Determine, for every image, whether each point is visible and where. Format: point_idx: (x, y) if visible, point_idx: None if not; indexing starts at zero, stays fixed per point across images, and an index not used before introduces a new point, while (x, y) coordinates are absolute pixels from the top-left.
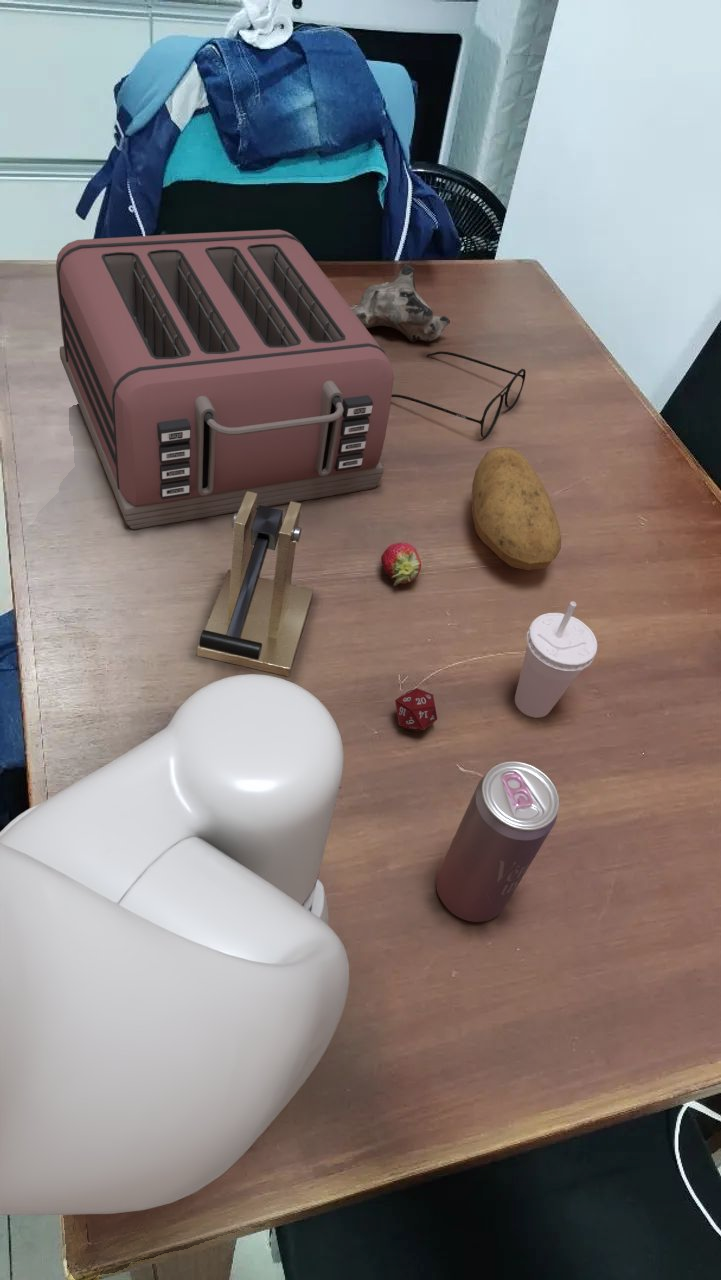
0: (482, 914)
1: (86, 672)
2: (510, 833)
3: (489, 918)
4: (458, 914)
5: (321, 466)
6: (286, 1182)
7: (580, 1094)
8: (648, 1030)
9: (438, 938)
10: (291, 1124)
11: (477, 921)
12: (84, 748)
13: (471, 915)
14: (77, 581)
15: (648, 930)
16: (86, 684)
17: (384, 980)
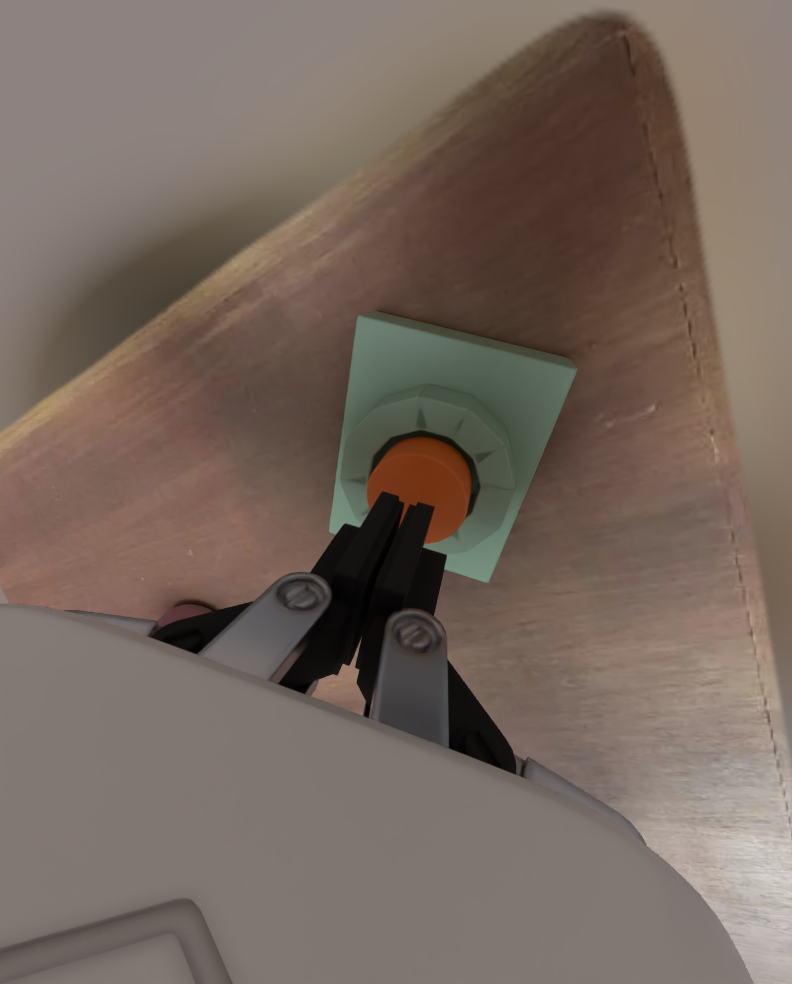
0: (166, 620)
1: (720, 866)
2: None
3: (169, 611)
4: (199, 614)
5: None
6: (291, 262)
7: (27, 443)
8: (5, 512)
9: (218, 586)
10: (310, 350)
11: (180, 607)
12: (715, 794)
13: (180, 617)
14: (742, 947)
15: (48, 597)
16: (719, 855)
17: (257, 541)
